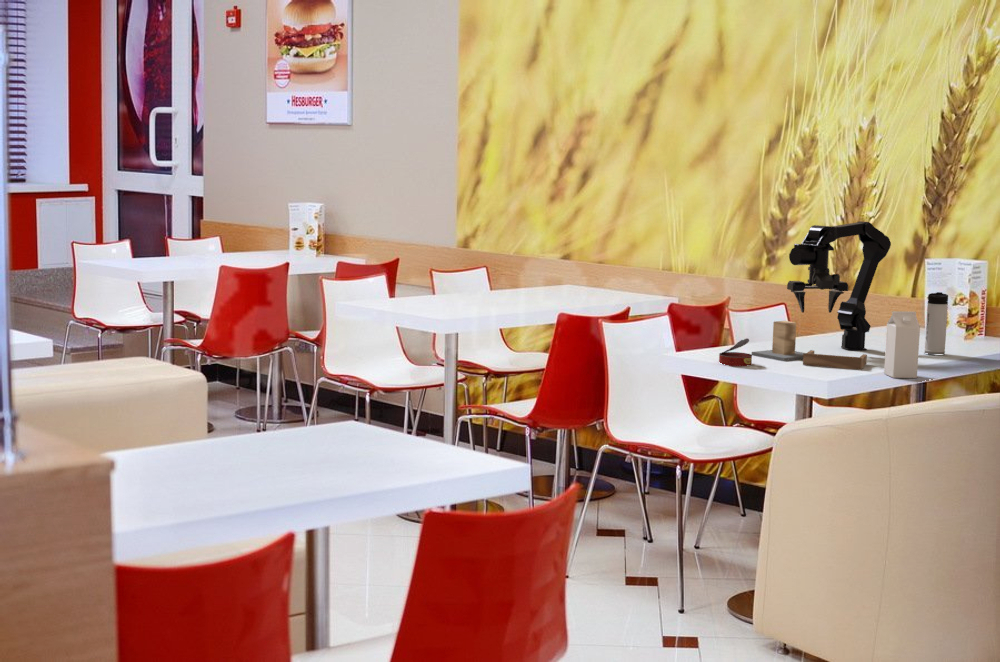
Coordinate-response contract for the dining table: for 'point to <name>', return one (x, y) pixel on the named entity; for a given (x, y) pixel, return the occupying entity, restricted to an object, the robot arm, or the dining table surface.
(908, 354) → the milk carton
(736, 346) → the canned food
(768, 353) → the mat
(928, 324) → the travel mug
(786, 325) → the packed blank
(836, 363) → the tray
